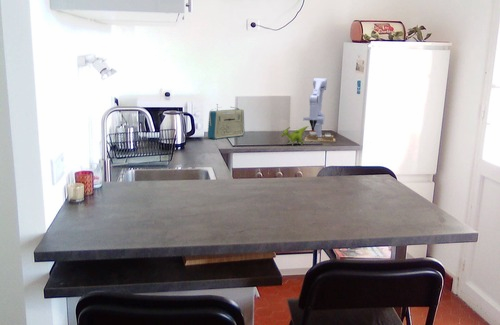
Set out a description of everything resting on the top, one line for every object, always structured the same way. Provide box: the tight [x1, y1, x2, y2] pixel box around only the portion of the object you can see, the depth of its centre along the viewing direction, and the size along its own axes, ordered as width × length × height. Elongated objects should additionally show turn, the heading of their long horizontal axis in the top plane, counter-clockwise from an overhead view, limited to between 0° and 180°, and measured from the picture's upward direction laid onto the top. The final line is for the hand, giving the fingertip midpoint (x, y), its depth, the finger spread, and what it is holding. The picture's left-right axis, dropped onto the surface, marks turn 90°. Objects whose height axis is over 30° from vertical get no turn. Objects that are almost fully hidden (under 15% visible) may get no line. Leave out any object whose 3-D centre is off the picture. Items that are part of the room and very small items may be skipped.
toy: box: [280, 125, 309, 146], centre depth 333 cm, size 8×21×15 cm, turn 115°
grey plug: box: [324, 132, 332, 137], centre depth 350 cm, size 4×4×4 cm
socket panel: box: [303, 133, 336, 144], centre depth 351 cm, size 12×22×4 cm, turn 81°
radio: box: [207, 103, 246, 140], centre depth 354 cm, size 30×8×25 cm, turn 131°
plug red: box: [309, 129, 316, 136], centre depth 351 cm, size 4×4×4 cm
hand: (312, 130), depth 351 cm, fingers closed
